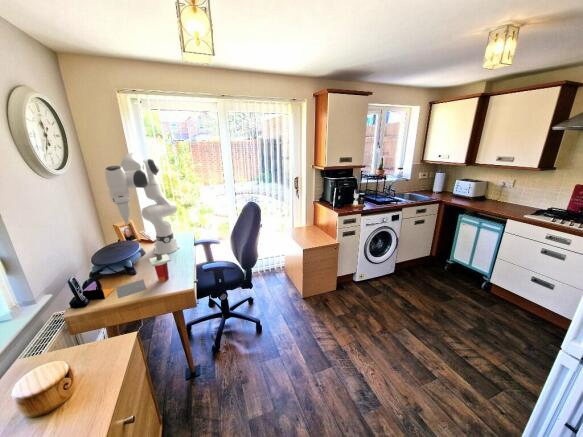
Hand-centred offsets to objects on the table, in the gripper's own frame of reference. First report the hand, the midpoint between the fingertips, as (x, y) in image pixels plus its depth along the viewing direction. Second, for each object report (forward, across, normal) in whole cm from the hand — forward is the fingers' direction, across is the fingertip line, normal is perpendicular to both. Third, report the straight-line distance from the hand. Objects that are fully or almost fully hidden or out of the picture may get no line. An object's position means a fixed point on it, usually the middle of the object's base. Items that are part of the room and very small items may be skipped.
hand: (126, 221), depth 133 cm
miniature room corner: (+42, -3, -20) cm, 46 cm away
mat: (+41, +1, -5) cm, 41 cm away
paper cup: (+41, +3, +12) cm, 43 cm away
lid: (+27, +3, +12) cm, 30 cm away
